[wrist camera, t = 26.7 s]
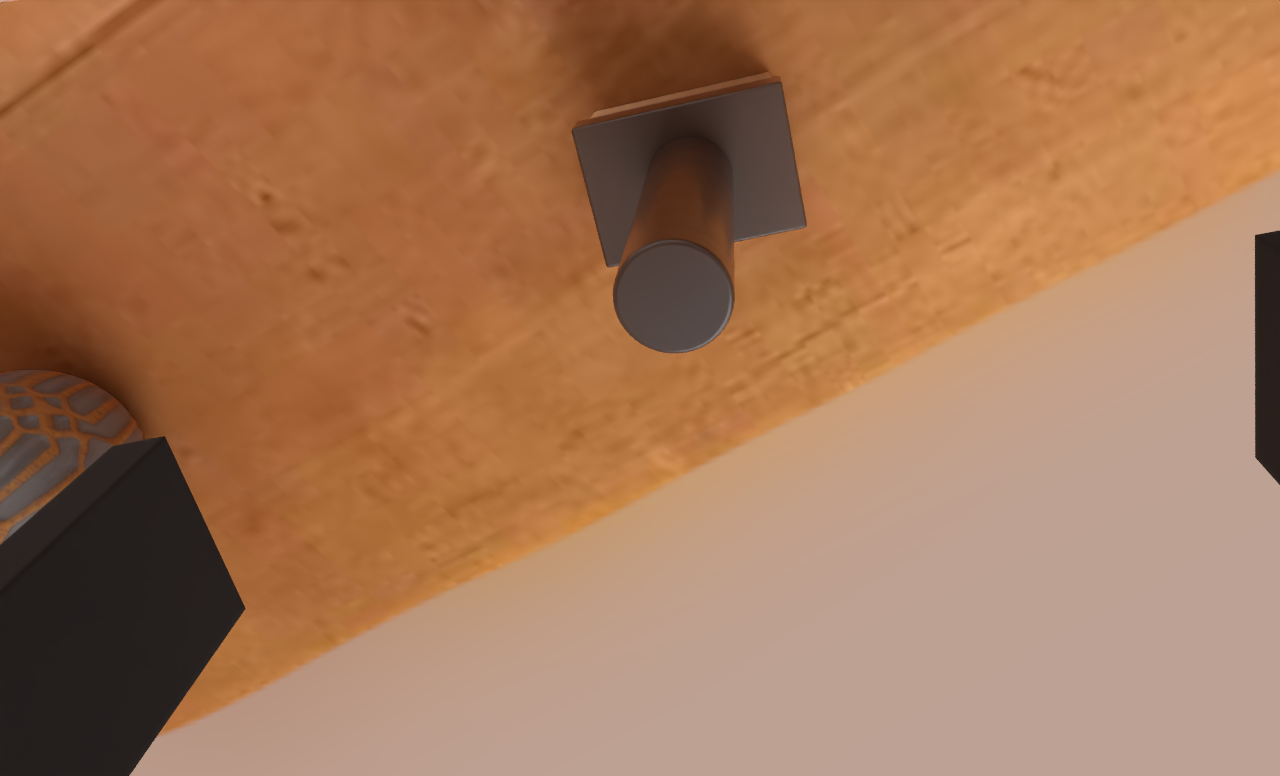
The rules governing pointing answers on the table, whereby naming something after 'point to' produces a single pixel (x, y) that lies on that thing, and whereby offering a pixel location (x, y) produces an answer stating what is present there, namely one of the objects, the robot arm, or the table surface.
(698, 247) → the brush
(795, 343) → the table surface
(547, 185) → the table surface
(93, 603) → the robot arm
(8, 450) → the vase
